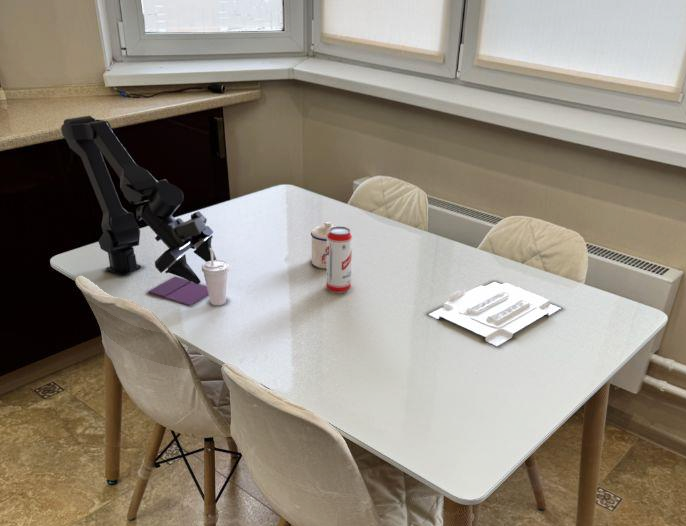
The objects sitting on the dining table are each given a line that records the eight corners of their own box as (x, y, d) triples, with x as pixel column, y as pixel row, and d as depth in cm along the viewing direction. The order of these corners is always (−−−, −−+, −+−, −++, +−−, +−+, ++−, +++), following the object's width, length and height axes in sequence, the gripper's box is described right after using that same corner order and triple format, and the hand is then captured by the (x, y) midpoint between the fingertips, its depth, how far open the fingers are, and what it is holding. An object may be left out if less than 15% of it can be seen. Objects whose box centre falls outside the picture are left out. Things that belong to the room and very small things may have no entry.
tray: (561, 308, 174) (564, 294, 172) (497, 350, 157) (499, 336, 155) (494, 281, 186) (495, 268, 183) (427, 318, 169) (428, 305, 167)
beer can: (353, 286, 180) (356, 227, 171) (345, 296, 175) (347, 236, 166) (331, 282, 181) (332, 224, 173) (322, 292, 176) (323, 232, 168)
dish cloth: (148, 292, 172) (148, 291, 172) (175, 278, 180) (175, 276, 179) (190, 305, 167) (190, 303, 167) (215, 290, 175) (215, 288, 175)
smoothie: (206, 295, 172) (201, 243, 164) (232, 295, 173) (228, 243, 165) (203, 307, 167) (198, 254, 159) (230, 307, 167) (226, 254, 160)
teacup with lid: (322, 272, 186) (322, 231, 180) (304, 260, 192) (304, 220, 186) (358, 263, 192) (360, 223, 186) (340, 251, 198) (341, 212, 192)
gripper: (160, 218, 151) (209, 273, 154) (203, 192, 166) (247, 243, 169) (134, 246, 157) (181, 298, 160) (177, 218, 172) (220, 267, 175)
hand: (209, 275), depth 166 cm, fingers open, 9 cm apart
